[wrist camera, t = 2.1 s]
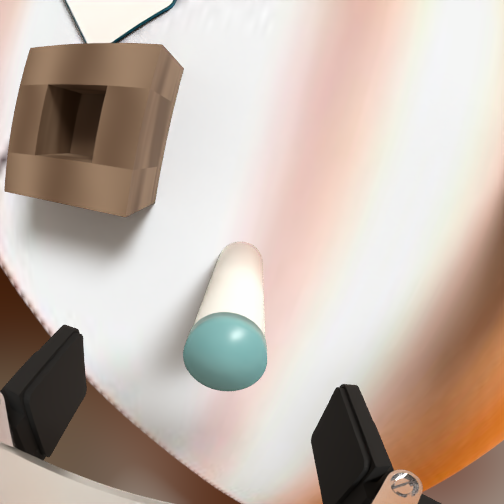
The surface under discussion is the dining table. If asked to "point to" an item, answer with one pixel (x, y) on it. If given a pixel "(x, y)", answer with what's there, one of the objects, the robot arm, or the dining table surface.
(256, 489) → the dining table surface
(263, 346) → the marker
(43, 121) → the socket block
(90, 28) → the smartphone
